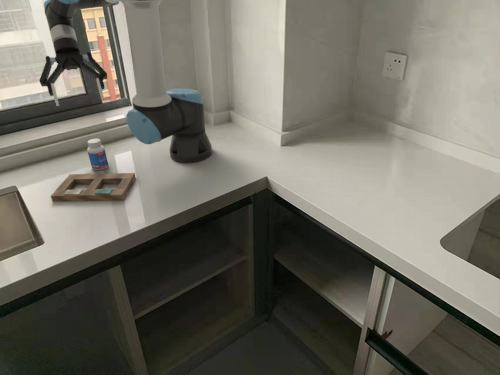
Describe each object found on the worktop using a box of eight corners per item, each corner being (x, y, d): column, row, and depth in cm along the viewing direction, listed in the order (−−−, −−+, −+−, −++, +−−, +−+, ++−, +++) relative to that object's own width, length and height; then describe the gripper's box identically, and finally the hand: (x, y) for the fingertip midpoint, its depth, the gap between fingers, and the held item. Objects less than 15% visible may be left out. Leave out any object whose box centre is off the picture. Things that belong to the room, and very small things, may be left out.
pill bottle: (103, 171, 123) (96, 144, 118) (89, 170, 124) (81, 143, 119) (111, 163, 128) (105, 138, 123) (97, 162, 129) (90, 137, 124)
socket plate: (135, 178, 118) (134, 172, 117) (123, 200, 107) (122, 193, 106) (71, 179, 119) (69, 173, 118) (52, 201, 108) (50, 195, 106)
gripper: (105, 46, 130) (120, 100, 126) (26, 53, 121) (39, 112, 117) (104, 33, 123) (119, 89, 119) (20, 39, 114) (34, 100, 110)
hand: (80, 100), depth 118 cm, fingers open, 13 cm apart
